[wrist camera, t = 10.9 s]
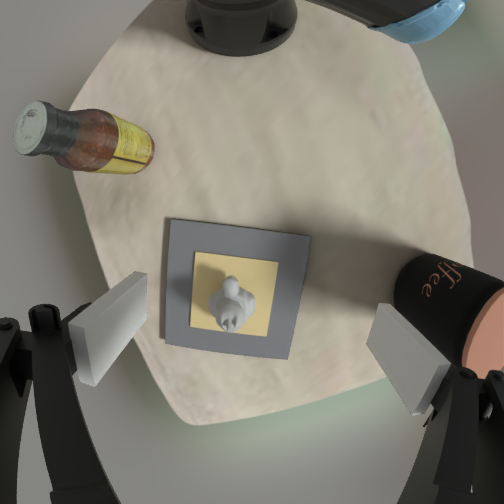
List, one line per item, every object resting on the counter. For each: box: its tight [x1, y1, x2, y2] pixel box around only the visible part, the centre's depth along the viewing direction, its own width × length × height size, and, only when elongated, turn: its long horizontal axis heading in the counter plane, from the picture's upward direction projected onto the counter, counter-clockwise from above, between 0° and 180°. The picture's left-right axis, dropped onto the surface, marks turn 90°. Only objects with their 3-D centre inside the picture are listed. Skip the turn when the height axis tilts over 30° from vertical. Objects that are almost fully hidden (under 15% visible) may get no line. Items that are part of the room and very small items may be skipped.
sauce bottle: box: [13, 101, 154, 174], centre depth 23 cm, size 7×6×20 cm
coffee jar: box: [394, 254, 504, 379], centre depth 27 cm, size 11×11×18 cm
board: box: [165, 219, 311, 360], centre depth 35 cm, size 17×17×1 cm
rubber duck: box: [208, 275, 255, 333], centre depth 31 cm, size 5×7×8 cm
